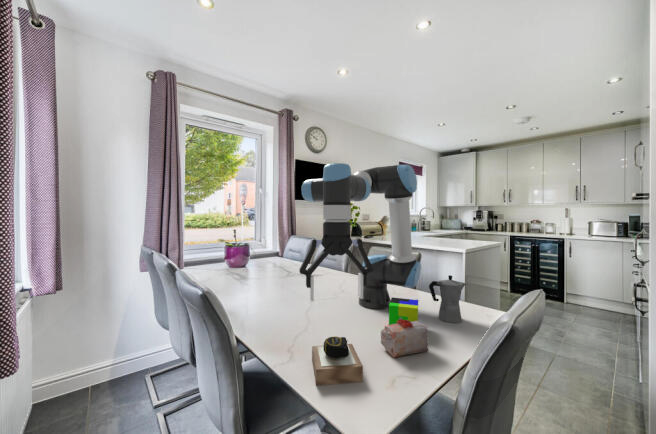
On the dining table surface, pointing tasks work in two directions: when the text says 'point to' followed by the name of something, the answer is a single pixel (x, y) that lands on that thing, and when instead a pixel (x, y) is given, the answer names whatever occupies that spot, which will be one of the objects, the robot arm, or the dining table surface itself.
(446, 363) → the dining table surface
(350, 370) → the base block
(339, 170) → the robot arm
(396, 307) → the puzzle toy
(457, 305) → the coffeepot
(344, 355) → the tape measure
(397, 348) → the food item
